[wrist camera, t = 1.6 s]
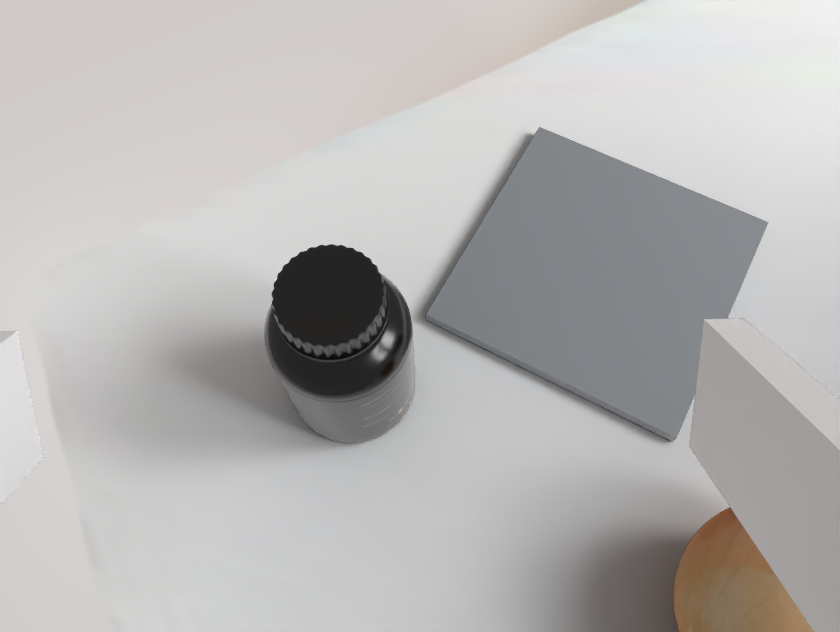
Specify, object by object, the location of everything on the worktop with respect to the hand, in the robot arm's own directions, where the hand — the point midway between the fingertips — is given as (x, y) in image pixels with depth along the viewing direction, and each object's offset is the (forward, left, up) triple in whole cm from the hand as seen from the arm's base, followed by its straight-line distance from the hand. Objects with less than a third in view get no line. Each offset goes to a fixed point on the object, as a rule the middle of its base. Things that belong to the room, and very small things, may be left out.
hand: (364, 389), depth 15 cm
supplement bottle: (+7, -7, -26) cm, 28 cm away
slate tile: (-2, -20, -26) cm, 33 cm away
